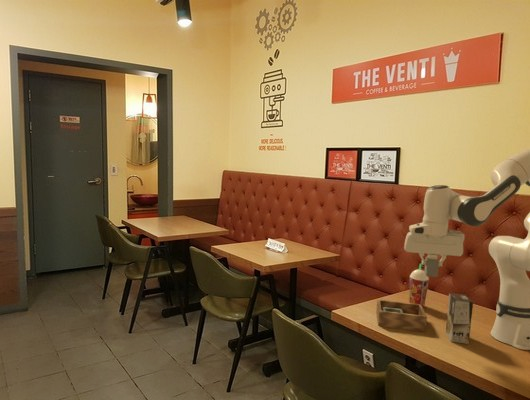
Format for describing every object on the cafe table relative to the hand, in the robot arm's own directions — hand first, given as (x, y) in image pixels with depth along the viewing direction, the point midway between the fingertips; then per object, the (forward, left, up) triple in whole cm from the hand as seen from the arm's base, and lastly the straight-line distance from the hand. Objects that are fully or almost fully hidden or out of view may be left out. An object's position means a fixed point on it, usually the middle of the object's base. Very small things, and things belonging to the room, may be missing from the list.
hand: (431, 265), depth 148 cm
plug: (0, 0, -4) cm, 4 cm away
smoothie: (-2, -34, -28) cm, 44 cm away
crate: (+8, -12, -28) cm, 31 cm away
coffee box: (-12, -3, -28) cm, 31 cm away
